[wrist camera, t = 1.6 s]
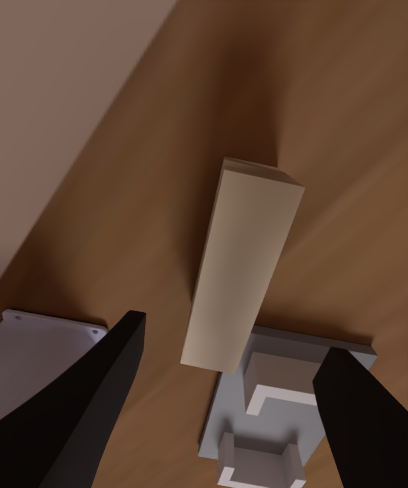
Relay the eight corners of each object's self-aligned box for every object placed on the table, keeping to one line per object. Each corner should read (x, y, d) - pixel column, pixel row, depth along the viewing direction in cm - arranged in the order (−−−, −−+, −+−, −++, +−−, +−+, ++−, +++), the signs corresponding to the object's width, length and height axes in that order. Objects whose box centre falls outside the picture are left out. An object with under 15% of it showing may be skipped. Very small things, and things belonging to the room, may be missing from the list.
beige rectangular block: (191, 302, 21) (180, 363, 15) (224, 155, 16) (224, 169, 10) (231, 310, 21) (234, 374, 15) (277, 167, 16) (305, 187, 10)
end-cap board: (198, 446, 30) (195, 490, 26) (234, 321, 21) (236, 361, 17) (296, 463, 30) (306, 509, 26) (371, 346, 21) (401, 390, 18)
